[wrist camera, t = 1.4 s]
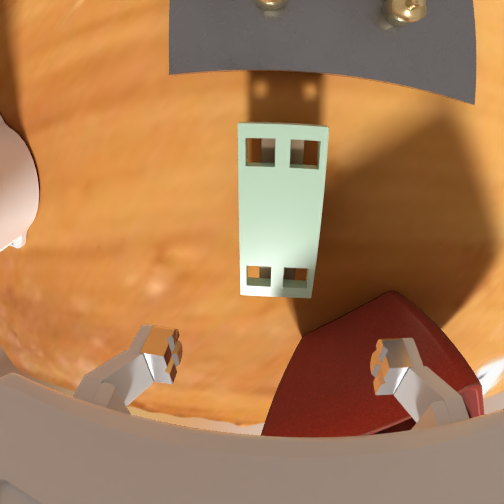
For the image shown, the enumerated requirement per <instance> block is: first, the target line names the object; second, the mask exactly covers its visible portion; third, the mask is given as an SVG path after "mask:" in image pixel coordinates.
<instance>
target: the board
mask: <svg viewBox="0 0 504 504" xmlns="http://www.w3.org/2000/svg"><path fill="white" fill-rule="evenodd" d="M328 135H329V127H328V126H327V125H315V124H301V123H281V122H239V123H238V187H239V244H240V288H241V295H254V296H272V297H292V298H311V296H312V289H313V282H314V275H315V267H316V260H317V252H318V244H319V235H320V227H321V217H322V208H323V198H324V187H325V176H326V163H327V150H328ZM247 138H272V139H276V141H275V163H257V162H247ZM291 139H295V140H311V141H318V157H317V165H303V164H290V145H291ZM248 266H267V267H271V279H268V278H250V277H248ZM284 267H287V268H307V275H306V280H288V279H283V275H284Z"/></svg>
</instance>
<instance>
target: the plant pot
mask: <svg viewBox="0 0 504 504" xmlns="http://www.w3.org/2000/svg"><path fill="white" fill-rule="evenodd" d="M393 338H413V339H414V342H415V344H416V347H417V350H418V352H419V355H420V358H421V360H422V363H423V366H427V367H428V368H429V369H430V370H432V371H433V372H434V373H435V374H436V375H438V376H439V377H440V378H441V379H442V380H443V381H445V382H446V383H447V384H448V385H449V386H450V387H452V388H453V389H454V390H455V391H456V392H457V393H459V394H460V395H461V396H462V398H463V401H464V404H465V407H466V410H467V413H468V416H469V419H470V418H473V417H477V416H481V415H484V407H483V396H482V385H481V384H480V382H479V380H478V378H477V377H476V375H475V373H474V372H473V370H472V369H471V367H470V366H469V364H468V363H467V361H466V360H465V358H464V357H463V356H462V354H461V353H460V352H459V351H458V349H457V348H456V347H455V345H454V344H453V343H452V342H451V340H450V339H449V338H448V337H447V336H446V335H445V333H444V332H443V331H442V330H441V329H440V328H439V327H438V326H437V325H436V324H435V323H434V322H433V321H432V320H431V319H430V318H429V317H428V316H427V315H426V314H425V313H424V312H423V311H422V310H420V309H419V308H418V307H417V306H416V305H415V304H413V303H412V302H411V301H409V300H408V299H407V298H406V297H404V296H403V295H401V294H399V293H398V292H396V291H389V292H387V293H385V294H383V295H381V296H379V297H378V298H376V299H374V300H372V301H371V302H369V303H367V304H365V305H363V306H361V307H359V308H358V309H356V310H354V311H352V312H350V313H348V314H346V315H344V316H342V317H340V318H338V319H336V320H335V321H333V322H331V323H329V324H327V325H325V326H323V327H321V328H319V329H317V330H314V331H312V332H310V333H308V334H306V335H305V336H303V337H302V339H301V340H300V342H299V344H298V346H297V348H296V350H295V352H294V354H293V356H292V358H291V360H290V362H289V364H288V366H287V368H286V370H285V372H284V374H283V377H282V379H281V381H280V383H279V386H278V388H277V391H276V393H275V396H274V398H273V401H272V404H271V406H270V409H269V412H268V415H267V418H266V421H265V424H264V427H263V430H262V434H261V436H274V437H347V436H363V435H375V434H385V433H394V432H402V431H409V430H411V429H412V428H413V427H414V426H415V424H416V422H415V420H414V419H413V418H412V417H411V415H410V414H409V413H408V412H407V411H406V409H405V408H404V407H403V406H402V405H401V403H400V402H399V401H398V400H397V399H396V397H395V396H394V394H391V395H375V390H374V385H373V382H374V379H375V377H374V376H373V375H372V374H371V369H370V362H371V357H372V354H373V352H375V351H376V350H377V348H376V344H377V341H378V340H379V339H393Z"/></svg>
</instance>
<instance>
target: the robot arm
mask: <svg viewBox="0 0 504 504" xmlns="http://www.w3.org/2000/svg"><path fill="white" fill-rule="evenodd" d="M38 204H39V185H38V178H37V172H36V168H35V165H34V162H33V159H32V156H31V154H30V152H29V150H28V148H27V146H26V144H25V143H24V141H23V140H22V138H21V137H20V136H19V135H18V134H17V133H16V132H15V131H14V130H12V129H11V128H10V127H8V126H7V125H6V124H5V122H4V120H3V119H2V117H1V115H0V251H2V250H3V249H5V248H6V247H7V246H9V245H10V246H13V247H16V248H20V247H22V246H23V245H25V243H26V237H27V230H28V228H29V227H30V225H31V224H32V222H33V221H34V219H35V216H36V213H37V210H38ZM178 338H179V332H178V329H175V328H168V327H162V326H156V325H148V324H143V325H142V326H141V327H140V329H139V331H138V333H137V335H136V336H135V338H134V340H133V342H132V344H131V346H130V348H129V350H128V351H127V350H125V351H123V352H122V353H120V354H118V355H117V356H115V357H114V358H112V359H110V360H109V361H107V362H106V363H104V364H102V365H101V366H99V367H97V368H96V369H94V370H93V371H91V372H89V373H88V374H86V375H85V376H84V377H83V379H82V381H81V383H80V385H79V386H78V388H77V390H76V392H75V394H74V396H73V397H72V396H70V395H67V394H64V393H61V392H59V391H56V390H54V389H51V388H49V387H46V386H44V385H41V384H39V383H36V382H34V381H32V380H30V379H27V378H26V377H23V376H21V375H19V374H16V373H10V374H7V375H5V376H3V377H1V378H0V504H504V409H501V410H498V411H495V412H491V413H488V414H485V415H481V416H477V417H473V418H470V419H469V416H468V413H467V410H466V407H465V404H464V401H463V398H462V396H461V395H460V394H459V393H457V392H456V391H455V390H454V389H453V388H452V387H450V386H449V385H448V384H447V383H446V382H445V381H443V380H442V379H441V378H440V377H439V376H438V375H436V374H435V373H434V372H433V371H432V370H430V369H429V368H428V367H427V366H423V363H422V360H421V358H420V355H419V352H418V350H417V347H416V344H415V342H414V339H413V338H393V339H379V340H378V341H377V344H376V348H377V350H376V351H375V352H373V354H372V357H371V362H370V369H371V374H372V375H373V376H374V377H375V379H374V382H373V385H374V390H375V395H391V394H394V396H395V397H396V399H397V400H398V401H399V402H400V403H401V405H402V406H403V407H404V408H405V409H406V411H407V412H408V413H409V414H410V415H411V417H412V418H413V419H414V420H415V422H416V424H415V426H414V427H413V428H412V429H411V430H409V431H402V432H394V433H385V434H375V435H363V436H347V437H274V436H258V435H246V434H236V433H226V432H218V431H210V430H203V429H198V428H192V427H186V426H180V425H175V424H170V423H165V422H160V421H155V420H151V419H147V418H143V417H138V416H135V415H131V413H130V412H129V410H128V409H127V407H126V406H127V405H128V404H130V403H131V402H132V401H133V400H134V399H135V398H137V397H138V396H139V395H140V394H141V393H142V392H143V391H145V390H146V389H147V388H148V387H149V386H150V385H151V384H153V383H154V381H155V382H161V383H168V384H173V382H174V379H175V376H176V373H177V371H176V366H177V365H179V364H180V361H181V358H182V344H181V342H180V341H179V340H178Z"/></svg>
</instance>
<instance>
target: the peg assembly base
mask: <svg viewBox="0 0 504 504" xmlns="http://www.w3.org/2000/svg"><path fill="white" fill-rule="evenodd" d="M228 71H283V72H302V73H316V74H327V75H336V76H344V77H352V78H359V79H366V80H372V81H378V82H384V83H389V84H394V85H399V86H404V87H408V88H413V89H417V90H421V91H425V92H429V93H433V94H437V95H440V96H444V97H447V98H451V99H454V100H457V101H461V102H464V103H468V104H473V105H474V104H475V88H476V34H475V19H474V8H473V0H170V10H169V75H184V74H194V73H208V72H228Z"/></svg>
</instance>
